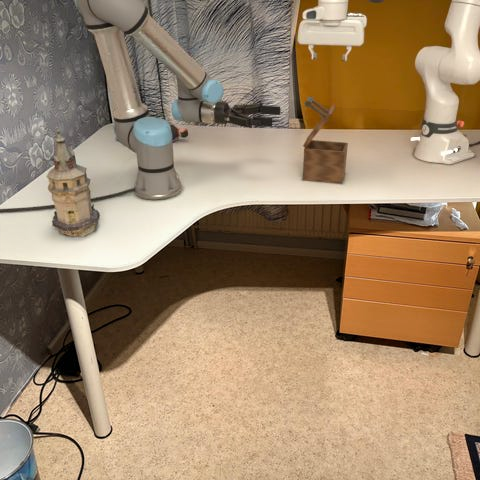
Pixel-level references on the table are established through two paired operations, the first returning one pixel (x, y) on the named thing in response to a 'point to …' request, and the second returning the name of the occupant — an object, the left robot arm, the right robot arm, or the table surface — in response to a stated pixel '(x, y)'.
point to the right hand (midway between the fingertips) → (329, 60)
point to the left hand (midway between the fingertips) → (276, 116)
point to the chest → (325, 161)
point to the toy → (177, 132)
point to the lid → (322, 121)
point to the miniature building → (70, 193)
